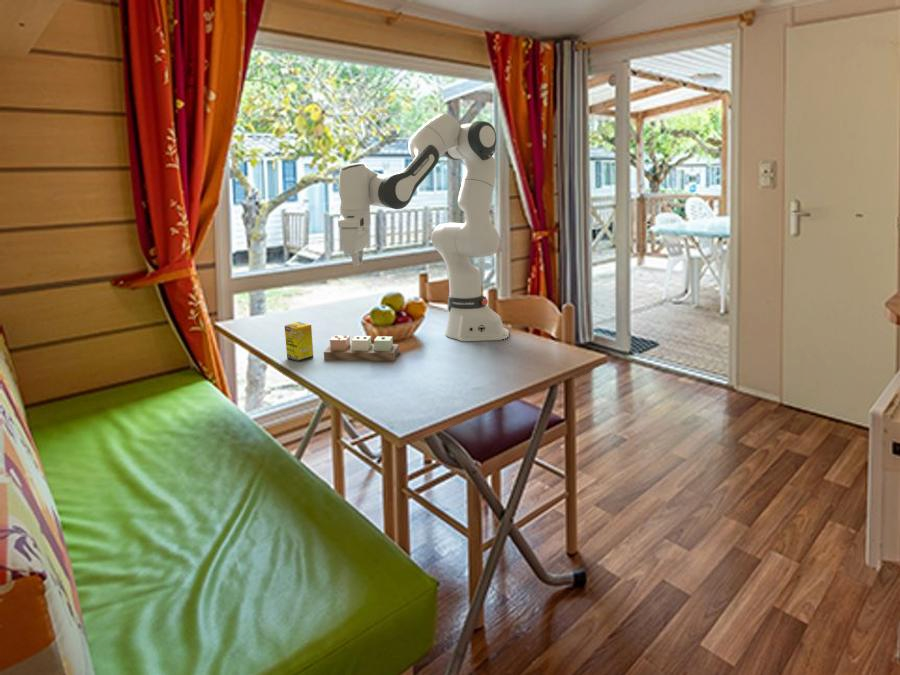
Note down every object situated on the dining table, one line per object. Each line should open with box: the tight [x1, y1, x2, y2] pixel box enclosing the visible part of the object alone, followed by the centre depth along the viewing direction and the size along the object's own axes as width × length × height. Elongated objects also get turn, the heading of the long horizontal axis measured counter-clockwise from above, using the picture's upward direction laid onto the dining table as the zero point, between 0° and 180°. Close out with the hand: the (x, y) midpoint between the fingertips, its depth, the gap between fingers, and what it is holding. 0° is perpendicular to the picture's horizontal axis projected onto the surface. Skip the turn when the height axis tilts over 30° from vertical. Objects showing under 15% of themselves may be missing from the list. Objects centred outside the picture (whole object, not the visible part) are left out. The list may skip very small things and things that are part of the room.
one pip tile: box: [373, 335, 394, 351], centre depth 198 cm, size 5×5×4 cm
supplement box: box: [284, 321, 314, 363], centre depth 196 cm, size 6×6×11 cm
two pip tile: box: [351, 335, 372, 351], centre depth 199 cm, size 5×5×4 cm
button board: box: [323, 342, 400, 362], centre depth 199 cm, size 22×10×2 cm, turn 85°
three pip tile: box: [329, 335, 351, 350], centre depth 199 cm, size 5×5×4 cm
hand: (357, 264), depth 192 cm, fingers open, 3 cm apart
